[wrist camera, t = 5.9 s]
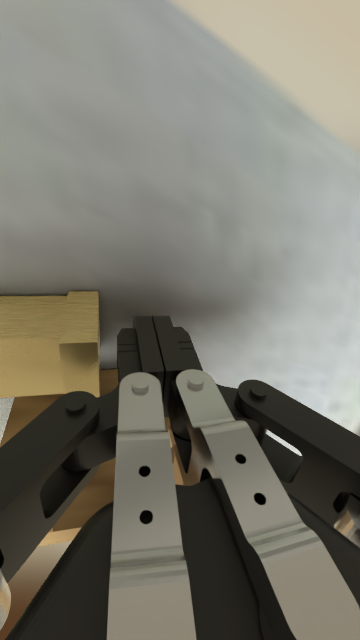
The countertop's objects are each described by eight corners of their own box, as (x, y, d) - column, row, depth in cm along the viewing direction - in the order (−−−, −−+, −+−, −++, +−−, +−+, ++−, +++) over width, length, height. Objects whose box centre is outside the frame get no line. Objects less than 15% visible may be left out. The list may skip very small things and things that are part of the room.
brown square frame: (42, 473, 19) (30, 547, 16) (21, 374, 15) (-1, 446, 12) (172, 457, 21) (184, 521, 18) (185, 365, 17) (205, 426, 14)
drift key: (-71, 355, 13) (-120, 423, 10) (-96, 291, 12) (-162, 351, 9) (100, 348, 15) (99, 406, 12) (98, 291, 13) (97, 342, 10)
